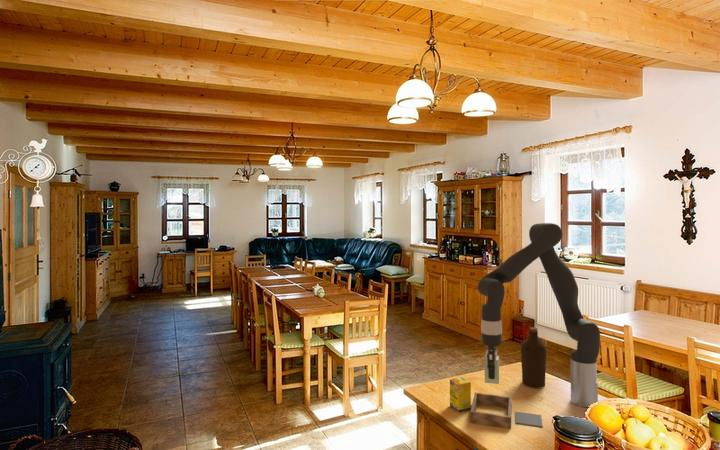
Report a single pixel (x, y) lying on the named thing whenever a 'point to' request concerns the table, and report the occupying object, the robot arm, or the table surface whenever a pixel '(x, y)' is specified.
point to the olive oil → (533, 360)
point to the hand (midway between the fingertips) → (492, 375)
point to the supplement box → (460, 394)
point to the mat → (528, 419)
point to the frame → (488, 417)
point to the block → (496, 380)
